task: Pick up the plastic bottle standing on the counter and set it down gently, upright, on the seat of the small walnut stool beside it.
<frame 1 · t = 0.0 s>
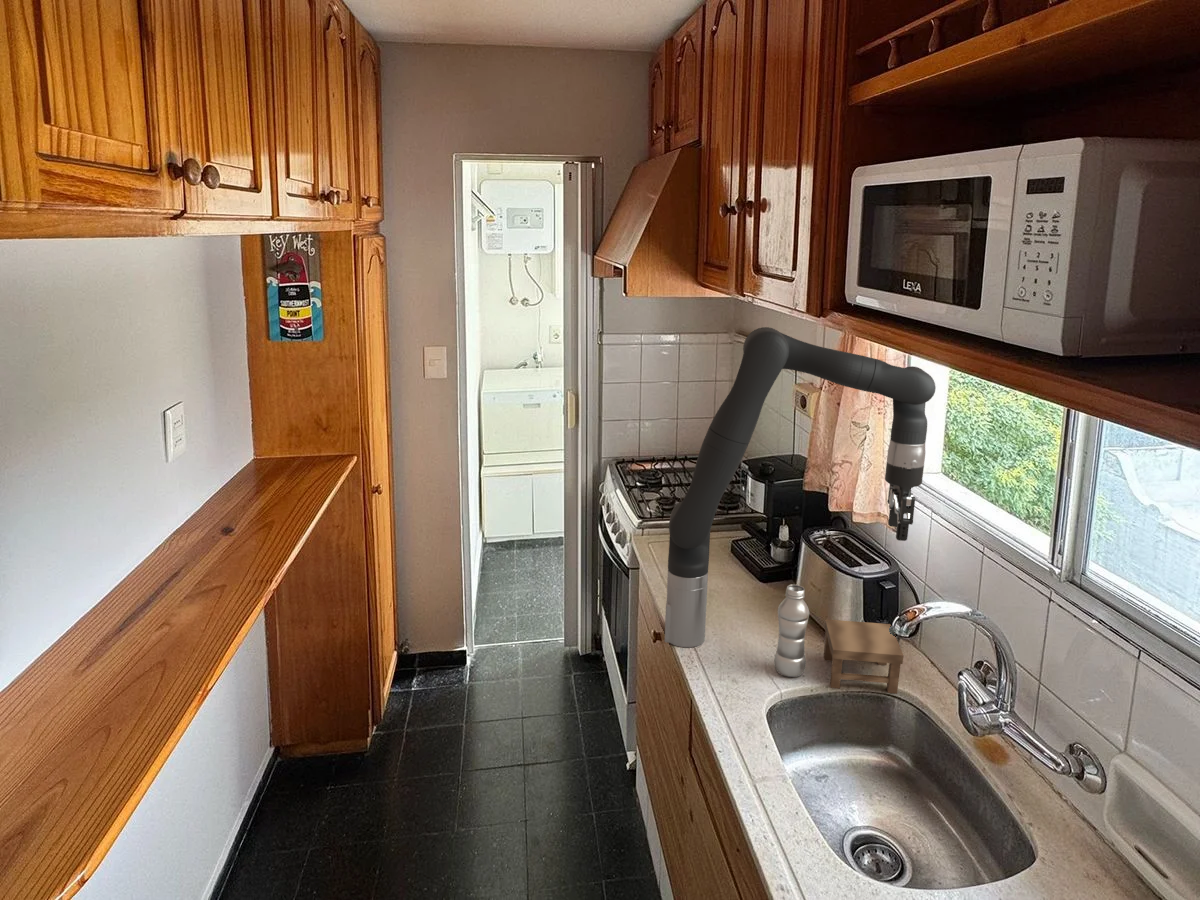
hand: (897, 532, 181), 29 cm above the worktop, fingers open, 8 cm apart
walnut stool: (858, 674, 180), on the worktop
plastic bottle: (788, 673, 180), on the worktop
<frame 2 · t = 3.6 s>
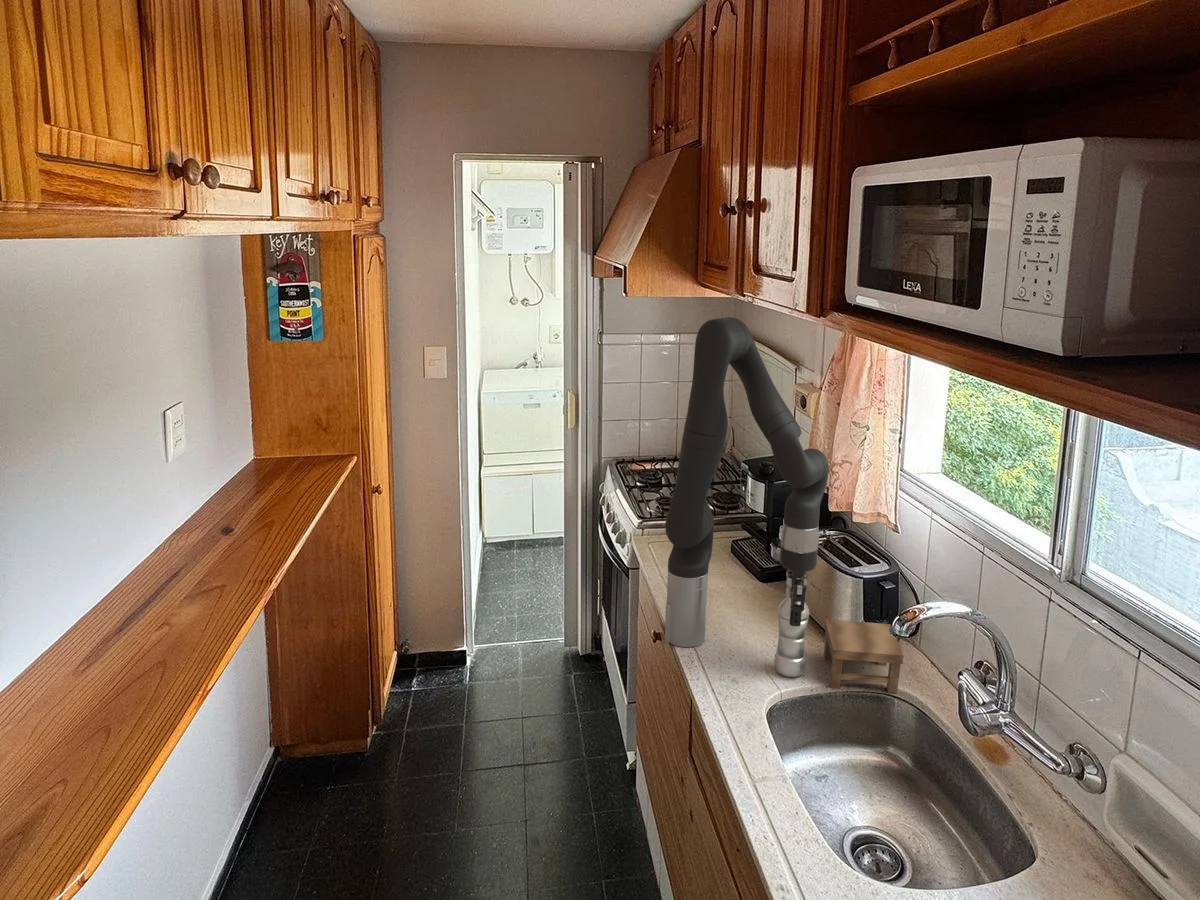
hand: (793, 617, 176), 13 cm above the worktop, fingers closed on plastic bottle, 6 cm apart
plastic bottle: (788, 673, 180), on the worktop, touching gripper
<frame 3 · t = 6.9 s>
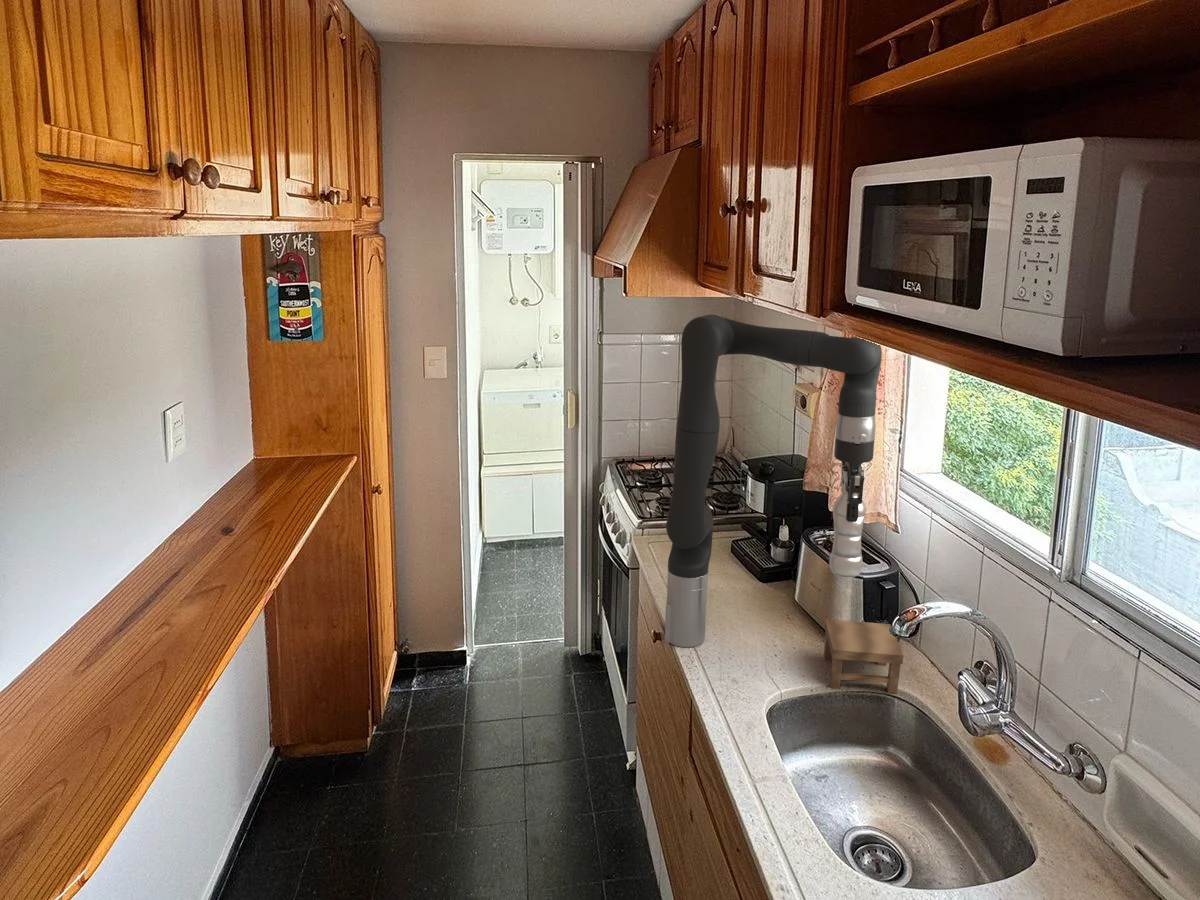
hand: (849, 515, 170), 36 cm above the worktop, fingers closed on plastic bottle, 6 cm apart
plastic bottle: (844, 575, 173), point 23 cm above the worktop, touching gripper
when the fingers open (23 cm above the worktop, at t = 10.7 s): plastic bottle drops 1 cm, resting on walnut stool.
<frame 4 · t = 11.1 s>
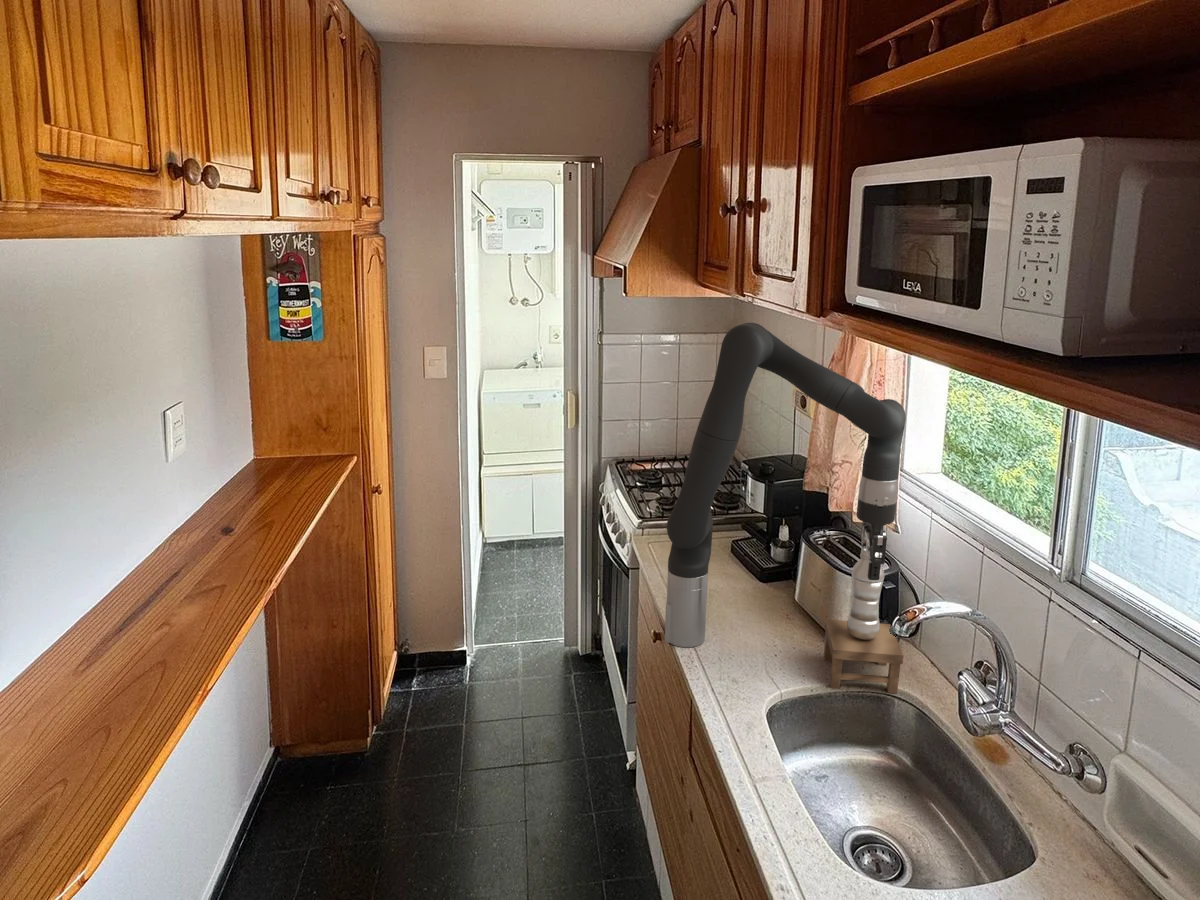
hand: (869, 571, 173), 24 cm above the worktop, fingers open, 8 cm apart
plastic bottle: (861, 637, 177), point 9 cm above the worktop, touching walnut stool
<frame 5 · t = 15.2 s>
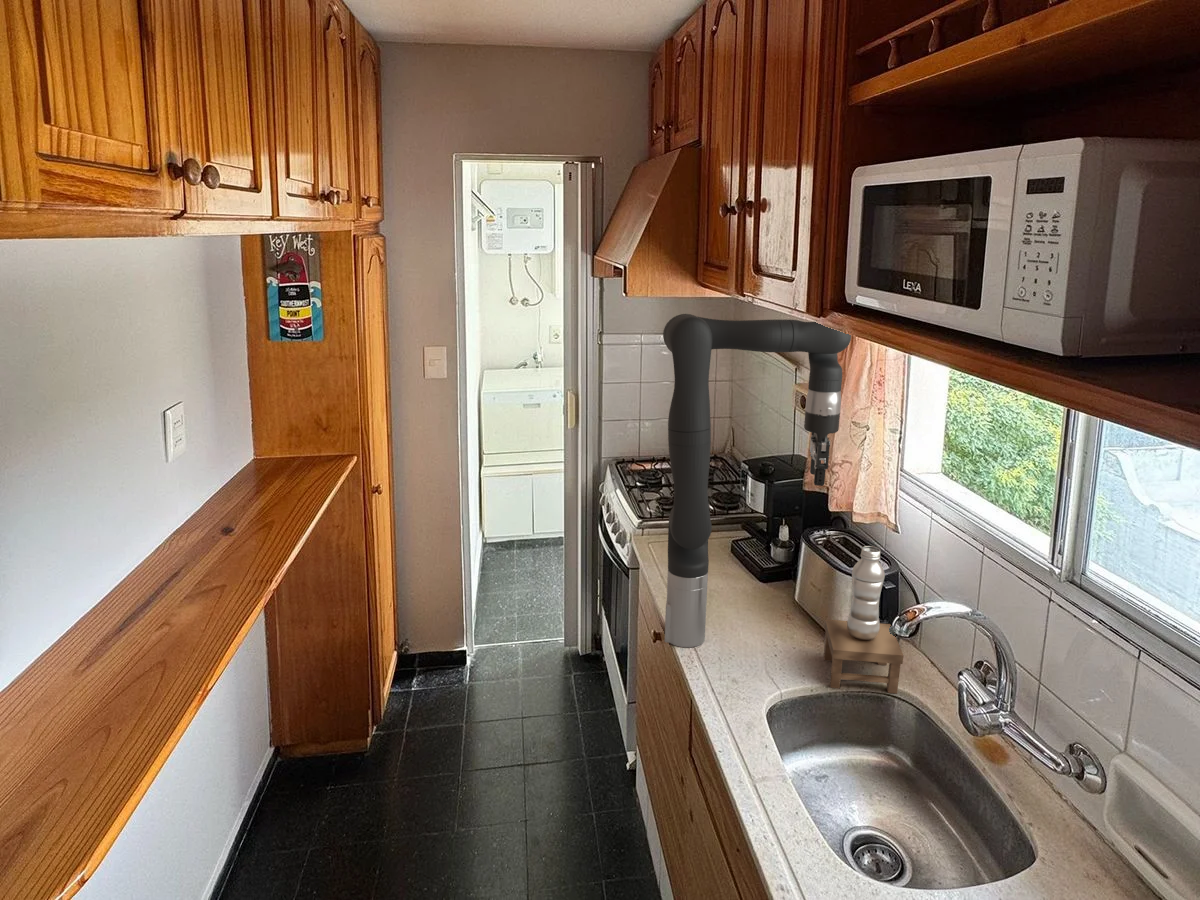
hand: (816, 479, 188), 38 cm above the worktop, fingers open, 8 cm apart
nothing on the worktop moved.
at the end: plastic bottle inside the target area on the walnut stool (0.2 cm from its centre), point 8.8 cm above the walnut stool's base; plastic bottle tilted 0°; the gripper is holding nothing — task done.
